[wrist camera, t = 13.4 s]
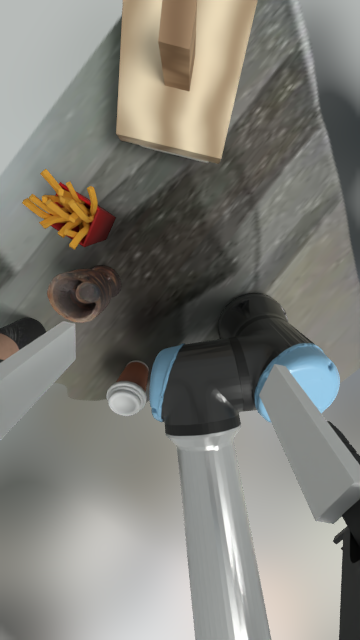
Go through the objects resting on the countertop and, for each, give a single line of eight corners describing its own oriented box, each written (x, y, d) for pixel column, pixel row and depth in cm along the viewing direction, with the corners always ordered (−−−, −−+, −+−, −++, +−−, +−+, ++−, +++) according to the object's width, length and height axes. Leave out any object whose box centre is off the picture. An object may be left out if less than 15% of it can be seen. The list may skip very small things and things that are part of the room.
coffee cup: (160, 372, 53) (153, 407, 42) (137, 388, 55) (124, 425, 44) (137, 350, 50) (122, 381, 39) (114, 367, 53) (94, 402, 42)
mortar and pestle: (109, 242, 40) (42, 247, 21) (141, 272, 42) (104, 299, 24) (79, 282, 43) (0, 314, 25) (110, 307, 45) (58, 354, 27)
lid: (253, 11, 23) (284, -94, 16) (218, 163, 29) (229, 138, 22) (130, -22, 22) (102, -149, 15) (120, 140, 28) (97, 106, 21)
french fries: (108, 246, 40) (66, 251, 26) (71, 222, 38) (5, 214, 25) (127, 205, 37) (90, 186, 23) (87, 177, 35) (23, 139, 22)
